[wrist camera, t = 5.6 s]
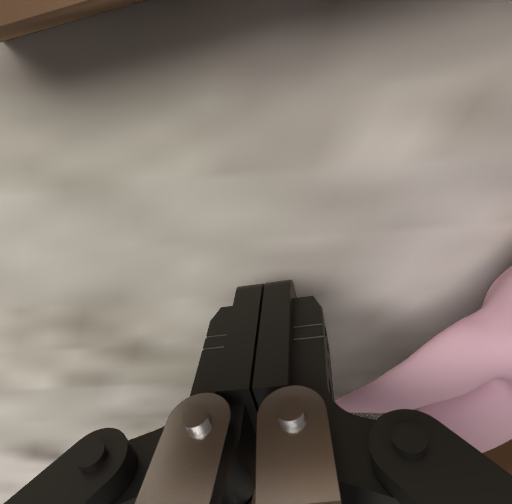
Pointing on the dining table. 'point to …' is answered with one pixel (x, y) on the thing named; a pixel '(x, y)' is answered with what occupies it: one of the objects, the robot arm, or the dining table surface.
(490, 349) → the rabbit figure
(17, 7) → the channel rails
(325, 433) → the robot arm
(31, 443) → the dining table surface
